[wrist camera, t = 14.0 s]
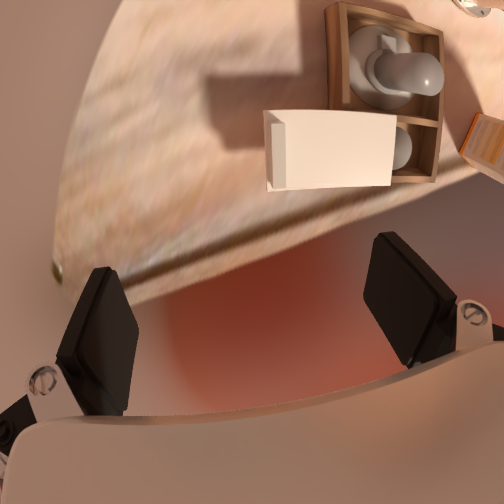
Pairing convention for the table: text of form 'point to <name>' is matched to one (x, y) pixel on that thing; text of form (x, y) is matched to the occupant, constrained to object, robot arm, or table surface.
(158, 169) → the table surface
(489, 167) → the supplement box
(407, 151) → the housing
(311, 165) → the lid
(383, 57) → the grey cylinder
